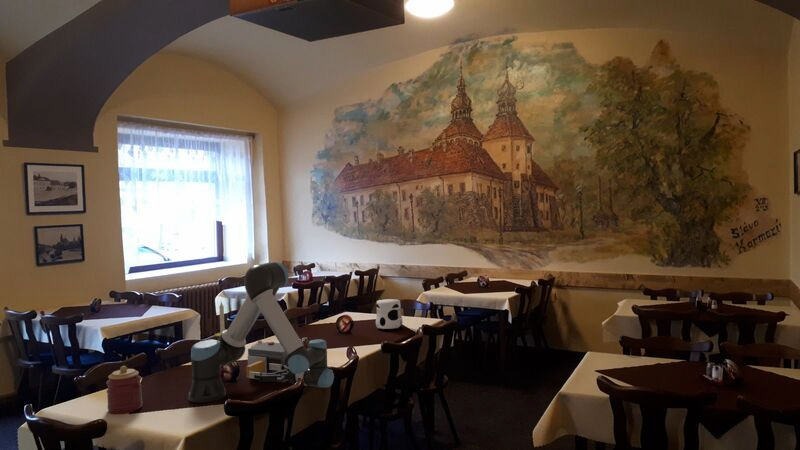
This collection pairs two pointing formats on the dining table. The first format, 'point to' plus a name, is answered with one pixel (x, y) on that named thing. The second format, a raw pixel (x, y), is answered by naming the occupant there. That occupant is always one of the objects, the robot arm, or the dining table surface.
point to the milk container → (388, 314)
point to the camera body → (270, 354)
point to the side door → (256, 365)
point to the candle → (221, 320)
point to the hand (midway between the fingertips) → (260, 370)
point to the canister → (124, 391)
